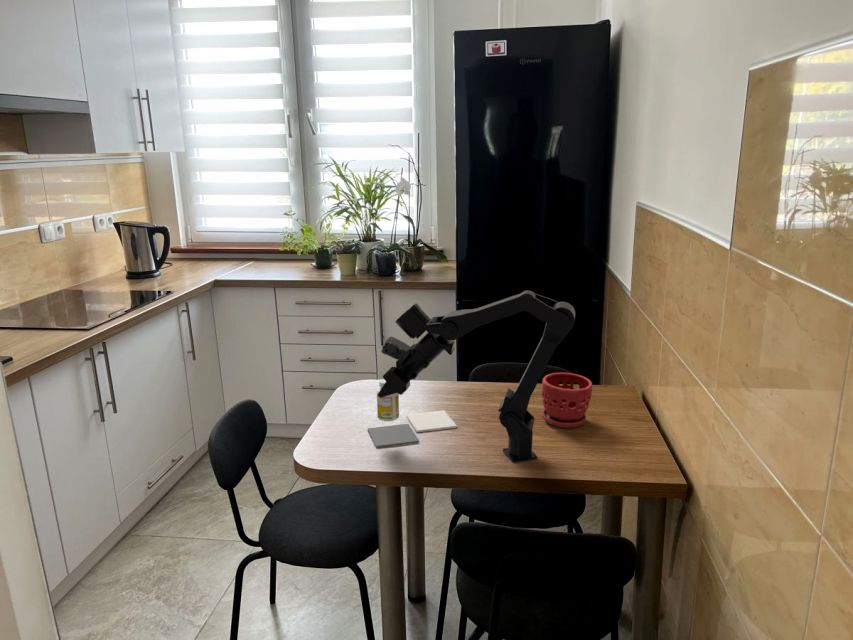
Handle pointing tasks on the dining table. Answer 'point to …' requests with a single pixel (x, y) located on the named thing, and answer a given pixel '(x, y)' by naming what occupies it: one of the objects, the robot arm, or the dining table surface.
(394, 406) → the supplement bottle
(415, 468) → the dining table surface
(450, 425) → the offwhite coaster
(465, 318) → the robot arm
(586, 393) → the plant pot
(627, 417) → the dining table surface
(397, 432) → the slate coaster
